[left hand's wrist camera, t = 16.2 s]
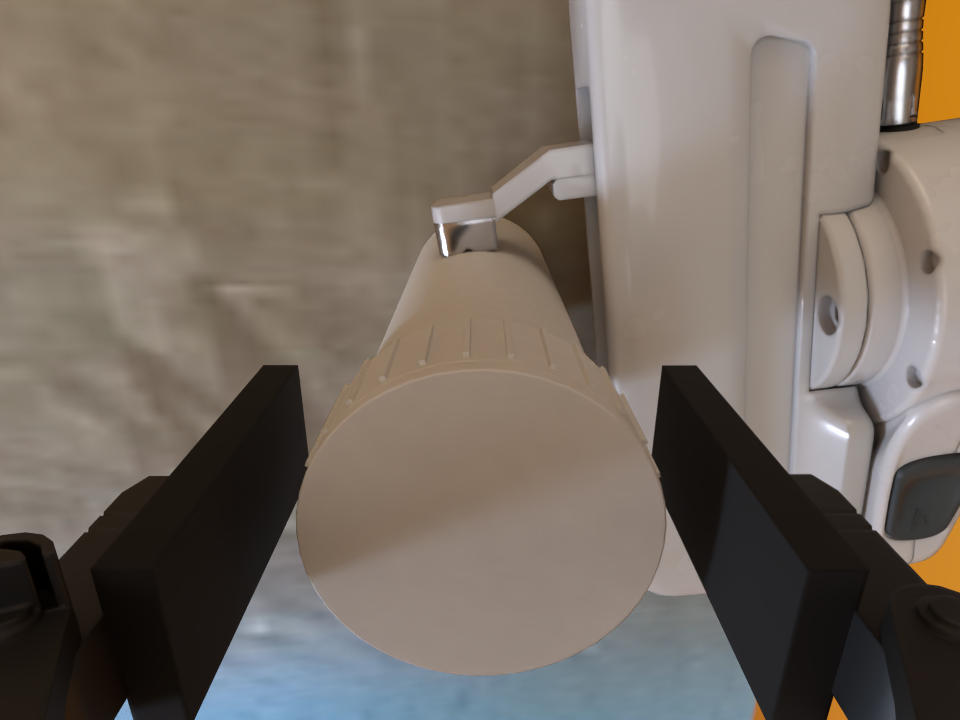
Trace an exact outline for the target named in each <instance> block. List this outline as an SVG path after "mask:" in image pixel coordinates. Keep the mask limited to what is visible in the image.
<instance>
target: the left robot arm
mask: <svg viewBox="0 0 960 720" xmlns="http://www.w3.org/2000/svg"><path fill="white" fill-rule="evenodd" d="M651 456H652V458H653V460H654V462H655V464H656V466H657V468H658V470H659V472H660V476H661V477H660V478H659V480H660V482H661V486H662V491H663V495H664V499H665V505H666V508H667V511H668V513H669V515H670V517H671V519H672V521H673V523H674V525H675V528H676V530H677V532H678V534H679V536H680V538H681V540H682V542H683V545H684V547H685V549H686V551H687V553H688V555H689V557H690V560H691V562H692V564H693V566H694V568H695V570H696V572H697V574H698V577H699V579H700V581H701V583H702V585H703V587H704V589H705V592H706V594H707V596H708V598H709V600H710V602H711V604H712V606H713V609H714V611H715V613H716V615H717V617H718V619H719V621H720V623H721V626H722V628H723V630H724V632H725V634H726V636H727V638H728V641H729V643H730V645H731V647H732V649H733V651H734V653H735V655H736V658H737V660H738V662H739V664H740V666H741V668H742V670H743V672H744V675H745V677H746V679H747V681H748V683H749V685H750V687H751V690H752V692H753V694H754V696H755V698H756V700H757V702H758V704H759V707H760V709H761V711H762V713H763V715H764V717H765V719H766V720H827V717H828V713H829V710H830V706H831V703H832V699H833V696H834V697H835V699H836V700H837V702H838V704H839V705H840V707H841V709H842V710H843V712H844V714H845V715H846V717H847V719H848V720H960V593H959V592H956V591H953V590H950V589H947V588H944V587H941V586H936V585H928V584H926V583H925V582H924V581H923V579H922V578H921V577H920V576H919V575H918V574H917V573H916V572H915V571H914V570H913V569H912V568H911V567H910V566H909V565H908V564H907V563H906V561H905V560H904V559H903V558H902V557H901V556H900V555H899V554H898V553H897V552H896V551H895V550H894V549H893V548H892V547H891V546H890V545H889V543H888V542H887V541H886V540H885V539H884V538H883V537H882V536H881V535H880V534H879V533H878V532H877V531H876V530H872V525H871V524H870V523H869V522H868V521H867V520H866V519H865V518H864V517H863V516H862V515H861V514H857V510H856V509H855V507H854V506H853V505H852V504H851V503H850V502H849V501H848V500H847V499H846V498H845V497H844V496H843V495H842V494H841V493H840V492H839V491H838V490H837V489H835V488H833V487H832V486H830V485H828V484H827V483H825V482H824V481H822V480H820V479H819V478H817V477H815V476H814V475H812V474H789V473H788V472H787V471H786V470H785V469H784V467H783V466H782V465H781V464H780V463H779V462H778V460H777V459H776V458H775V457H774V456H773V455H772V453H771V452H770V451H769V450H768V449H767V448H766V446H765V445H764V444H763V443H762V442H761V440H760V439H759V438H758V437H757V436H756V435H755V433H754V432H753V431H752V430H751V429H750V428H749V426H748V425H747V424H746V423H745V422H744V421H743V419H742V418H741V417H740V416H739V415H738V413H737V412H736V411H735V410H734V409H733V408H732V406H731V405H730V404H729V403H728V402H727V401H726V399H725V398H724V397H723V396H722V395H721V393H720V392H719V391H718V390H717V389H716V388H715V386H714V385H713V384H712V383H711V382H710V381H709V379H708V378H707V377H706V376H705V375H704V374H703V372H702V371H701V370H700V369H699V368H698V366H697V365H662V370H661V378H660V387H659V395H658V404H657V413H656V421H655V430H654V438H653V447H652V455H651ZM308 457H309V455H308V447H307V438H306V430H305V421H304V413H303V404H302V395H301V387H300V378H299V370H298V365H263V366H262V368H261V369H260V370H259V371H258V372H257V374H256V375H255V376H254V377H253V378H252V379H251V381H250V382H249V383H248V384H247V385H246V386H245V388H244V389H243V390H242V391H241V392H240V393H239V395H238V396H237V397H236V398H235V399H234V401H233V402H232V403H231V404H230V405H229V406H228V408H227V409H226V410H225V411H224V412H223V413H222V415H221V416H220V417H219V418H218V419H217V421H216V422H215V423H214V424H213V425H212V426H211V428H210V429H209V430H208V431H207V432H206V433H205V435H204V436H203V437H202V438H201V439H200V440H199V442H198V443H197V444H196V445H195V446H194V448H193V449H192V450H191V451H190V452H189V453H188V455H187V456H186V457H185V458H184V459H183V460H182V462H181V463H180V464H179V465H178V466H177V467H176V469H175V470H174V471H173V472H172V473H171V475H170V476H149V477H147V478H145V479H144V480H142V481H140V482H139V483H137V484H135V485H134V486H132V487H130V488H129V489H127V490H126V491H124V492H122V493H121V494H120V495H119V496H118V497H117V498H116V500H115V501H114V502H113V503H112V504H111V505H110V506H109V507H108V508H107V509H106V510H105V511H104V515H103V516H100V517H99V518H98V519H97V520H96V521H95V522H94V523H93V524H92V525H91V526H90V527H89V531H88V532H85V533H84V534H83V535H82V536H81V537H80V538H79V539H78V540H77V541H76V542H75V543H74V544H73V545H72V546H71V548H70V549H69V550H68V551H67V552H66V553H65V554H64V555H63V556H62V557H61V558H60V559H58V556H57V553H56V550H55V547H54V543H53V541H51V540H50V539H48V538H47V537H46V536H44V535H42V534H34V533H26V532H25V533H16V534H8V535H1V536H0V720H114V719H115V717H116V715H117V714H118V712H119V710H120V709H121V707H122V706H123V704H124V702H125V701H126V699H128V703H129V706H130V710H131V713H132V717H133V720H194V719H195V717H196V715H197V713H198V711H199V709H200V707H201V704H202V702H203V700H204V698H205V696H206V694H207V692H208V690H209V687H210V685H211V683H212V681H213V679H214V677H215V675H216V672H217V670H218V668H219V666H220V664H221V662H222V660H223V658H224V655H225V653H226V651H227V649H228V647H229V645H230V643H231V641H232V638H233V636H234V634H235V632H236V630H237V628H238V626H239V623H240V621H241V619H242V617H243V615H244V613H245V611H246V609H247V606H248V604H249V602H250V600H251V598H252V596H253V594H254V592H255V589H256V587H257V585H258V583H259V581H260V579H261V577H262V574H263V572H264V570H265V568H266V566H267V564H268V562H269V560H270V557H271V555H272V553H273V551H274V549H275V547H276V545H277V543H278V540H279V538H280V536H281V534H282V532H283V530H284V528H285V525H286V523H287V521H288V519H289V517H290V515H291V513H292V511H293V508H294V506H295V504H296V502H297V500H298V498H299V492H300V488H301V485H302V482H303V479H304V476H305V473H306V471H307V468H308V467H306V466H305V463H306V461H307V459H308Z"/></svg>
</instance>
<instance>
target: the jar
mask: <svg viewBox="0 0 960 720" xmlns="http://www.w3.org/2000/svg"><path fill="white" fill-rule="evenodd" d="M495 224H496V233H497V242H498V249H497V250H491V251H480V252H474V251H472V250H470V249H468V248H467V249H466V250H465V251H464V252H463V253H461V254H457V255H454V256H441V255H440V254H439V248H438V243H437V238H436V232H435V233H434V234H433V235H432V236H431V237H430V238H429V239H428V241H427V242H426V244H425V245H424V247H423V249H422V251H421V253H420V255H419V257H418V259H417V262H416V264H415V266H414V269H413V271H412V273H411V276H410V278H409V280H408V283H407V285H406V288H405V290H404V292H403V295H402V297H401V299H400V302H399V304H398V306H397V309H396V311H395V313H394V316H393V318H392V320H391V323H390V325H389V327H388V330H387V332H386V334H385V337H384V339H383V341H382V344H381V346H380V348H379V351H378V353H377V355H378V354H379V353H380V352H382V351H383V350H384V349H385V348H387V347H389V346H390V345H391V344H392V341H393V340H394V339H395V338H397V337H398V338H399V340H400V339H402V338H404V337H406V336H408V335H410V334H413V333H415V332H417V331H420V330H422V329H425V328H427V325H428V324H431V323H433V325H434V326H435V325H439V324H442V323H448V322H454V321H461V320H465V317H471V320H476V319H491V320H501V321H503V320H504V318H508V319H510V322H514V323H519V324H523V325H528V326H531V327H534V328H537V329H540V328H541V327H543V328H546V329H547V332H548V333H550V334H552V335H554V336H556V337H558V338H560V339H562V340H564V341H566V342H568V343H569V344H571V345H572V346H573V345H574V344H577V345H578V346H579V347H580V349H581V352H582V353H584V351H583V348H582V346H581V344H580V341H579V339H578V337H577V334H576V332H575V330H574V327H573V325H572V323H571V320H570V318H569V316H568V313H567V311H566V309H565V306H564V304H563V302H562V299H561V297H560V295H559V292H558V290H557V288H556V285H555V283H554V281H553V278H552V276H551V274H550V271H549V269H548V267H547V264H546V262H545V260H544V257H543V255H542V253H541V251H540V249H539V247H538V245H537V244H536V242H535V241H534V240H533V238H532V237H531V236H530V235H529V234H528V233H527V232H526V231H525V230H524V229H522V228H521V227H520V226H518V225H517V224H515V223H513V222H511V221H509V220H507V219H504V218H501V219H500V220H498V221H496V219H495ZM584 354H585V353H584ZM377 355H376V356H377Z"/></svg>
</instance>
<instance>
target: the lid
mask: <svg viewBox="0 0 960 720" xmlns="http://www.w3.org/2000/svg"><path fill="white" fill-rule="evenodd" d="M646 444H648V441H647V439H646V437H645V435H644V433H643V431H642V429H641V427H640V425H639V423H638V421H637V419H636V417H635V415H634V413H633V411H632V409H631V407H630V405H629V403H628V401H627V399H626V398H625V396H624V394H623V393H622V394H620V395H619V394H618V392H617V391H616V389H615V387H614V385H613V383H612V381H611V379H610V377H609V375H608V373H607V371H606V369H605V368H604V367H603V366H602V367H600V368H599V367H598V366H597V365H596V364H595V363H594V362H593V361H592V360H591V359H589V358H588V357H587V356H586V355H585V354H584V353H582V352H581V349H580V347H579V346H578V345H577V344H574V345H573V346H572V345H571V344H569V343H568V342H566V341H564V340H562V339H560V338H558V337H556V336H554V335H552V334H550V333H548V332H547V329H546V328H543V327H541V328H540V329H537V328H534V327H531V326H528V325H523V324H519V323H514V322H510V319H508V318H504V320H503V321H501V320H491V319H476V320H471V317H465V320H461V321H454V322H448V323H442V324H439V325H435V326H434V325H433V323H431V324H428V325H427V328H425V329H422V330H420V331H417V332H415V333H413V334H410V335H408V336H406V337H404V338H402V339H400V340H399V338H398V337H397V338H395V339H394V340H393V341H392V344H391V345H390V346H389V347H387V348H385V349H384V350H383V351H382V352H380V353H379V354H378V355H377V356H375V357H374V358H373V359H372V360H370V359H369V358H367V359H366V360H365V361H364V363H363V365H362V367H361V370H360V372H359V373H358V374H357V375H356V377H355V378H354V379H353V381H352V382H351V384H350V385H349V386H348V385H346V384H345V385H344V386H343V388H342V390H341V392H340V394H339V396H338V398H337V400H336V402H335V404H334V406H333V408H332V410H331V412H330V414H329V416H328V418H327V420H326V422H325V424H324V426H323V428H322V430H321V432H320V434H319V436H318V438H317V440H316V442H315V444H314V447H313V449H312V451H311V453H310V455H309V457H308V459H307V461H306V463H305V466H306V467H308V468H307V471H306V473H305V476H304V479H303V482H302V485H301V488H300V492H299V498H298V504H297V511H296V533H297V539H298V545H299V551H300V555H301V558H302V561H303V564H304V567H305V570H306V573H307V575H308V577H309V579H310V581H311V583H312V585H313V587H314V589H315V591H316V592H317V594H318V595H319V596H320V598H321V599H322V601H323V602H324V604H325V605H326V607H327V608H328V609H329V610H330V611H331V612H332V613H333V614H334V615H335V617H336V618H337V619H338V620H339V621H340V622H341V623H342V624H343V625H345V626H346V627H347V628H348V629H349V630H350V631H352V632H353V633H354V634H355V635H356V636H358V637H359V638H361V639H362V640H364V641H365V642H367V643H368V644H370V645H371V646H373V647H374V648H376V649H378V650H380V651H382V652H384V653H386V654H388V655H390V656H392V657H394V658H396V659H399V660H402V661H404V662H407V663H409V664H412V665H415V666H419V667H422V668H426V669H430V670H434V671H439V672H445V673H451V674H460V675H473V676H483V675H503V674H511V673H519V672H524V671H528V670H533V669H537V668H541V667H544V666H547V665H550V664H553V663H556V662H559V661H562V660H564V659H566V658H568V657H570V656H573V655H575V654H577V653H579V652H581V651H583V650H584V649H586V648H588V647H590V646H591V645H593V644H595V643H596V642H598V641H599V640H601V639H602V638H603V637H605V636H606V635H607V634H609V633H610V632H611V631H613V630H614V629H615V628H616V627H617V626H618V625H619V624H620V623H621V622H622V621H623V620H624V619H625V618H626V617H627V616H628V615H629V614H630V613H631V612H632V611H633V609H634V608H635V607H636V606H637V604H638V603H639V602H640V601H641V599H642V598H643V596H644V594H645V593H646V591H647V589H648V588H649V586H650V584H651V583H652V581H653V578H654V576H655V574H656V571H657V569H658V566H659V564H660V560H661V556H662V552H663V549H664V545H665V536H666V525H667V521H666V505H665V499H664V495H663V491H662V486H661V482H660V480H659V478H660V477H661V476H660V472H659V470H658V468H657V466H656V464H655V462H654V460H653V458H652V456H651V454H650V452H649V450H648V448H647V446H646Z"/></svg>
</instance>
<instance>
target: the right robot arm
mask: <svg viewBox="0 0 960 720" xmlns="http://www.w3.org/2000/svg"><path fill="white" fill-rule="evenodd" d="M925 5H926V0H569V13H570V26H571V39H572V52H573V65H574V78H575V91H576V104H577V117H578V130H579V141H573V142H566V143H560V144H553V145H547V146H542V147H540V148H539V149H538V150H537V151H535V152H534V153H533V154H532V155H531V156H529V157H528V158H527V159H526V160H524V161H523V162H522V163H521V164H519V165H518V166H517V167H516V168H514V169H513V170H512V171H511V172H509V173H508V174H507V175H506V176H505V177H503V178H502V179H501V180H500V181H498V182H497V183H496V184H495V185H493V186H492V187H491V190H492V191H491V192H484V193H477V194H470V195H463V196H456V197H449V198H445V199H441V200H437V201H434V202H433V204H432V206H431V208H432V215H433V222H434V227H435V232H436V238H437V243H438V248H439V254H440V255H441V256H454V255H457V254H461V253H463V252H464V251H465V250H466V249H467V248H468V249H470V250H472V251H474V252H480V251H491V250H497V249H498V242H497V233H496V224H495V219H496V221H498V220H500V219H501V218H502V217H504V216H505V215H506V214H508V213H509V212H510V211H511V210H513V209H514V208H515V207H517V206H518V205H519V204H521V203H522V202H523V201H525V200H526V199H527V198H528V197H530V196H531V195H532V194H534V193H535V192H536V191H538V190H539V189H540V188H541V187H543V186H544V185H545V184H547V189H548V190H549V191H550V192H551V193H552V194H553V196H554V197H555V198H557V199H558V200H566V199H574V198H582V197H584V207H585V220H586V233H587V246H588V259H589V272H590V285H591V298H592V311H593V324H594V337H595V350H596V363H597V366H598V367H599V368H600V367H602V366H603V367H604V368H605V369H606V371H607V373H608V375H609V377H610V379H611V381H612V383H613V385H614V387H615V389H616V391H617V392H618V394H619V395H620V394H622V393H623V394H624V396H625V398H626V399H627V401H628V403H629V405H630V407H631V409H632V411H633V413H634V415H635V417H636V419H637V421H638V423H639V425H640V427H641V429H642V431H643V433H644V435H645V437H646V439H647V441H648V444H646V446H647V448H648V450H649V452H650V454H651V455H652V447H653V438H654V430H655V421H656V413H657V404H658V395H659V387H660V378H661V370H662V365H697V366H698V368H699V369H700V370H701V371H702V372H703V374H704V375H705V376H706V377H707V378H708V379H709V381H710V382H711V383H712V384H713V385H714V386H715V388H716V389H717V390H718V391H719V392H720V393H721V395H722V396H723V397H724V398H725V399H726V401H727V402H728V403H729V404H730V405H731V406H732V408H733V409H734V410H735V411H736V412H737V413H738V415H739V416H740V417H741V418H742V419H743V421H744V422H745V423H746V424H747V425H748V426H749V428H750V429H751V430H752V431H753V432H754V433H755V435H756V436H757V437H758V438H759V439H760V440H761V442H762V443H763V444H764V445H765V446H766V448H767V449H768V450H769V451H770V452H771V453H772V455H773V456H774V457H775V458H776V459H777V460H778V462H779V463H780V464H781V465H782V466H783V467H784V469H785V470H786V471H787V472H788V473H789V474H812V475H814V476H815V477H817V478H819V479H820V480H822V481H824V482H825V483H827V484H828V485H830V486H832V487H833V488H835V489H837V490H838V491H839V492H840V493H841V494H842V495H843V496H844V497H845V498H846V499H847V500H848V501H849V502H850V503H851V504H852V505H853V506H854V507H855V509H856V510H857V514H861V515H862V516H863V517H864V518H865V519H866V520H867V521H868V522H869V523H870V524H871V525H872V530H876V531H877V532H878V533H879V534H880V535H881V536H882V537H883V538H884V539H885V540H886V541H887V542H888V543H889V545H890V546H891V547H892V548H893V549H894V550H895V551H896V552H897V553H898V554H899V555H900V556H901V557H902V558H903V559H904V560H905V561H906V563H907V564H911V563H916V562H920V561H923V560H926V559H928V558H930V557H931V556H933V555H934V554H935V553H936V552H937V551H938V550H939V549H940V548H941V547H942V545H943V544H944V542H945V541H946V539H947V537H948V535H949V534H950V532H951V530H952V528H953V526H954V525H955V523H956V521H957V519H958V517H959V516H960V118H956V119H949V120H942V121H935V122H928V123H922V124H919V123H917V117H918V108H919V99H920V90H921V81H922V72H923V53H922V52H921V51H922V50H923V42H921V40H922V39H923V31H921V29H922V28H923V21H924V20H923V19H922V17H924V12H925ZM666 521H667V525H666V536H665V545H664V549H663V552H662V556H661V560H660V564H659V566H658V569H657V571H656V574H655V576H654V578H653V581H652V583H651V584H650V586H649V588H648V589H647V590H648V591H650V592H652V593H655V594H658V595H663V596H684V595H696V594H706V592H705V589H704V587H703V585H702V583H701V581H700V579H699V577H698V574H697V572H696V570H695V568H694V566H693V564H692V562H691V560H690V557H689V555H688V553H687V551H686V549H685V547H684V545H683V542H682V540H681V538H680V536H679V534H678V532H677V530H676V528H675V525H674V523H673V521H672V519H671V517H670V515H669V513H668V511H667V508H666Z"/></svg>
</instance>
